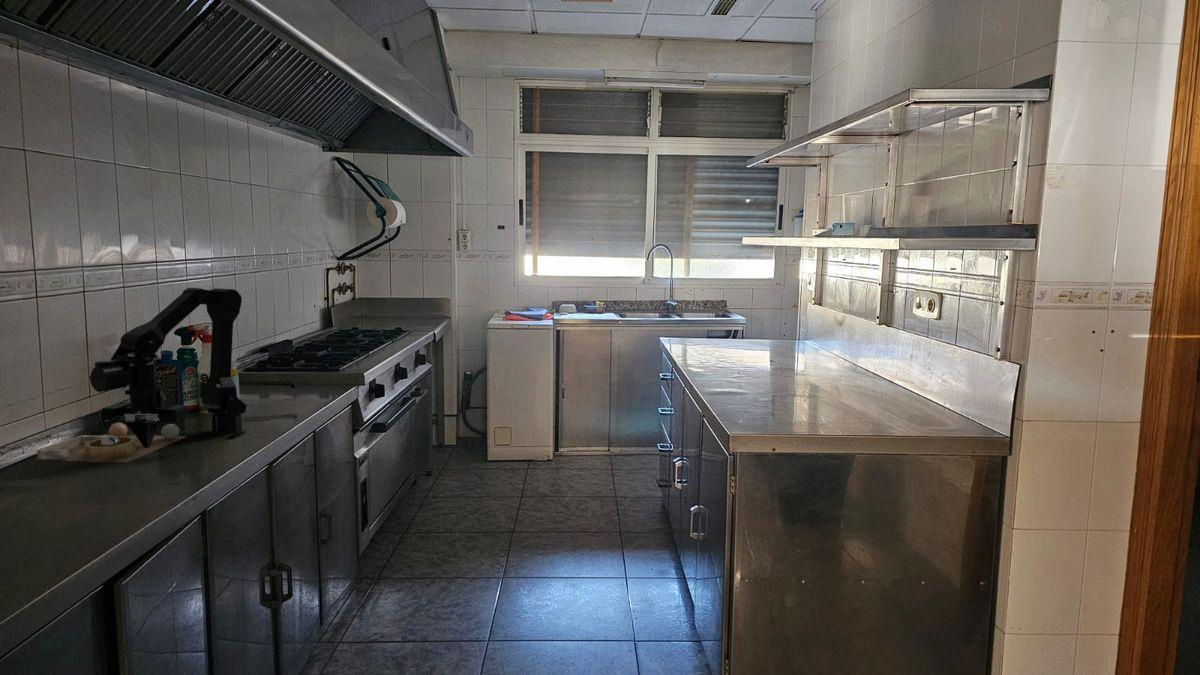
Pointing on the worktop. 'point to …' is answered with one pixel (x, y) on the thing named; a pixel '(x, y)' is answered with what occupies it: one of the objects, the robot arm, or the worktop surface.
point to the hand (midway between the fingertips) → (147, 447)
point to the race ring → (110, 448)
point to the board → (76, 452)
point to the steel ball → (110, 441)
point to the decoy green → (170, 431)
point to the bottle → (235, 375)
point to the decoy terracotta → (118, 429)
